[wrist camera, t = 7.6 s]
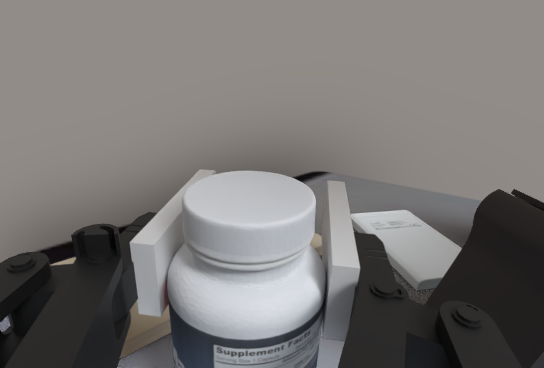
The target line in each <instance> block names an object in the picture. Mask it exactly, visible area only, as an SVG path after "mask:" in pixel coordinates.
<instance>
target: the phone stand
mask: <svg viewBox="0 0 544 368" xmlns="http://www.w3.org/2000/svg"><path fill="white" fill-rule="evenodd" d="M511 194H513V195H514V196H515V197H514V196H512V195H510V194H508V193H506V192H504V191H502V190H500V189H498V190H496V191H494V192H492V193H491V194H489V195H488V196H487V197H486V198H485V199H484V200H483V201H482V202H481V203H480V205H479V206H478V208H477V210H476V212H475V215H474V221H473V226H472V230H471V233H470V235H469V238H468V240H467V241H466V243H465V245H464V246H463V248H462V249H461V251H460V252H459V254H458V255H457V257H456V258H455V260H454V261H453V263H452V264H451V266H450V267H449V269H448V271H447V272H446V274H445V275H444V277H443V278H442V280H441V281H440V283H439V284H438V286H437V287H436V289H435V290H434V292H433V293H432V295H431V296H430V298H429V299H428V301H427V302H426V304H425V305H424V306H427V307H430V308H433V309H436V310H439V309H440V307H441V305H442V304H443V303H445V302H447V301H462V302H466V303H469V304H471V305H474V306H476V307H478V308H480V309H481V310H483V311H484V312H485V313H487V314H488V315H489V316H490V317H491V318H492V319H493V321H494V322H495V323H496V325H497V327H498V328H499V330H500V332H501V333H502V335H503V337H504V338H505V340H506V342H507V343H508V345H509V347H510V348H511V350H512V352H513V353H514V355H515V357H516V358H517V360H518V362H519V363H520V365H521V367H522V368H544V203H543V202H540V201H539V200H537V199H534V198H532V197H530V196H528V195H525V194H524V193H522V192H520V191H517V190H515V189H514V190H513V191H512V193H511Z"/></svg>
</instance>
